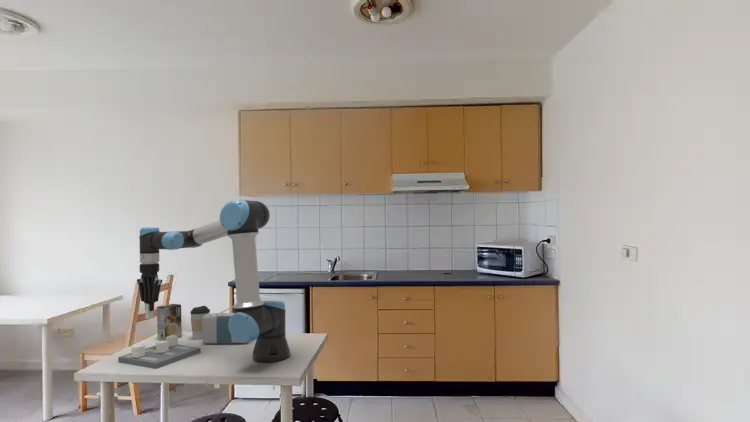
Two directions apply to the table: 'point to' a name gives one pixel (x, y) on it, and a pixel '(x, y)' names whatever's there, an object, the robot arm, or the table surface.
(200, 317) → the coffee cup
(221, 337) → the stereo radio cassette player
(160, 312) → the coffee box
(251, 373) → the table surface
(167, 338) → the breaker handle
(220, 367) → the table surface
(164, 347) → the block
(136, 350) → the block
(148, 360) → the breaker panel
